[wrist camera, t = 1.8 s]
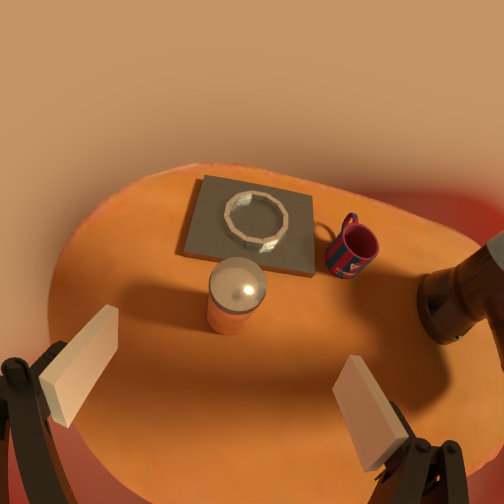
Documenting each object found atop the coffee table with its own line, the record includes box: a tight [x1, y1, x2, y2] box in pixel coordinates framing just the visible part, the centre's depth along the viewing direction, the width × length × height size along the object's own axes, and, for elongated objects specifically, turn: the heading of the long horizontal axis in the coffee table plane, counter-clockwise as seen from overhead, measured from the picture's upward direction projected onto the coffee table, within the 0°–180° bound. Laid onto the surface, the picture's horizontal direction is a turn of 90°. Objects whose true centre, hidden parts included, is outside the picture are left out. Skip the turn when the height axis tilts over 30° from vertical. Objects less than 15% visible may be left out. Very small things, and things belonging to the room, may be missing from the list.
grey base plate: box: [184, 175, 315, 278], centre depth 44 cm, size 20×16×3 cm
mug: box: [325, 213, 379, 279], centre depth 43 cm, size 7×10×7 cm
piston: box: [207, 257, 267, 335], centre depth 32 cm, size 6×6×12 cm
